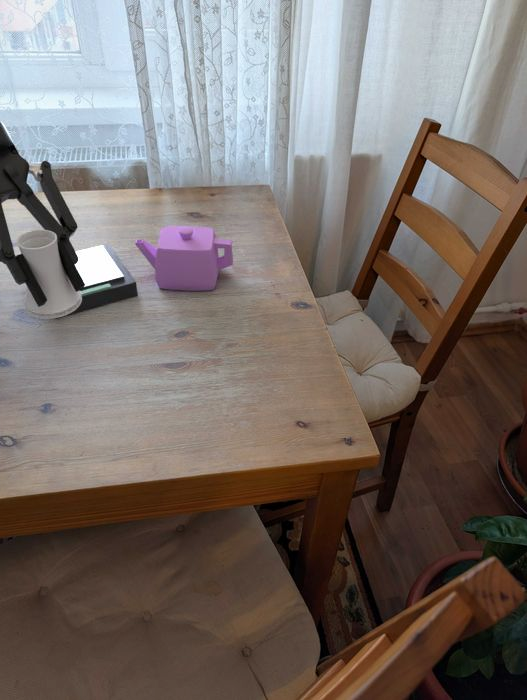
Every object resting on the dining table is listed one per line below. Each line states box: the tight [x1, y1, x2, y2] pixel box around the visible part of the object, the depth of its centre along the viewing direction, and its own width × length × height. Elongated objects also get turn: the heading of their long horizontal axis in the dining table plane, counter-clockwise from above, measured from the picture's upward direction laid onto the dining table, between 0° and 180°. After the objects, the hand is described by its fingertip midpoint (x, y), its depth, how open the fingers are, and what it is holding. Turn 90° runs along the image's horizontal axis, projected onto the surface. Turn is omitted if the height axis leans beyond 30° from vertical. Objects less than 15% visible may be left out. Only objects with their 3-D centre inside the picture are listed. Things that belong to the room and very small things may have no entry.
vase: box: [15, 229, 82, 320], centre depth 69 cm, size 8×8×10 cm
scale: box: [54, 243, 139, 320], centre depth 97 cm, size 15×15×4 cm
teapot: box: [134, 225, 234, 292], centre depth 98 cm, size 18×10×10 cm, turn 91°
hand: (62, 295), depth 69 cm, fingers closed on vase, 5 cm apart
